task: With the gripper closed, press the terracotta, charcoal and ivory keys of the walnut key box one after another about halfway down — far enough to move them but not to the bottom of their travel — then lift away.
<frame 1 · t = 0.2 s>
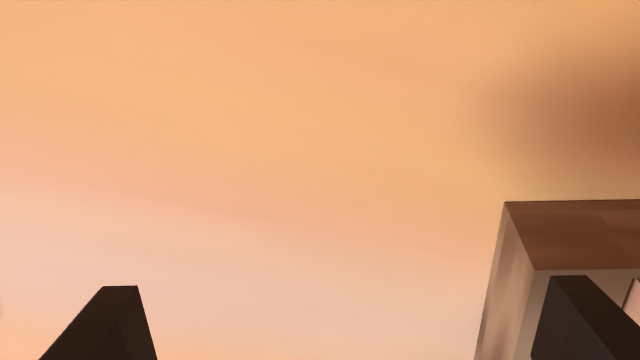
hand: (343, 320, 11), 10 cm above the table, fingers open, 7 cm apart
key box: (604, 339, 26), on the table
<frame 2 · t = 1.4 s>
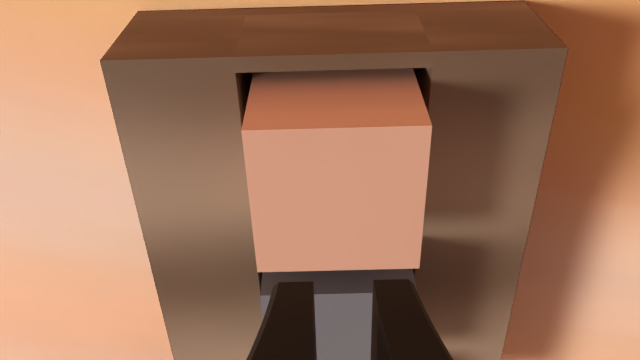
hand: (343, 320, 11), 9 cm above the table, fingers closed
key box: (333, 215, 21), on the table
charcoal key: (337, 303, 18), point 4 cm above the table, slide at 0.0 cm
terracotta key: (335, 167, 15), point 4 cm above the table, slide at 0.0 cm
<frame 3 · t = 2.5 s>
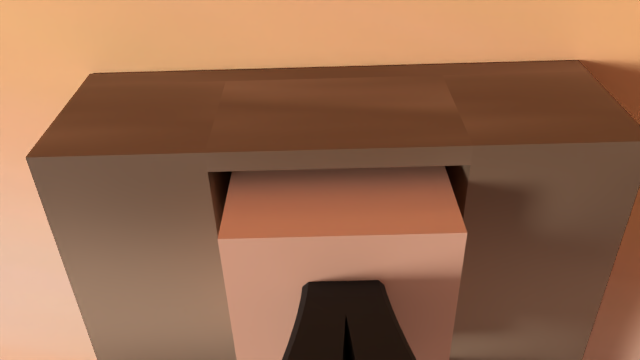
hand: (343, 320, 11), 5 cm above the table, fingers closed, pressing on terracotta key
key box: (336, 304, 18), on the table
terracotta key: (339, 262, 12), point 4 cm above the table, slide at 0.8 cm, touching gripper
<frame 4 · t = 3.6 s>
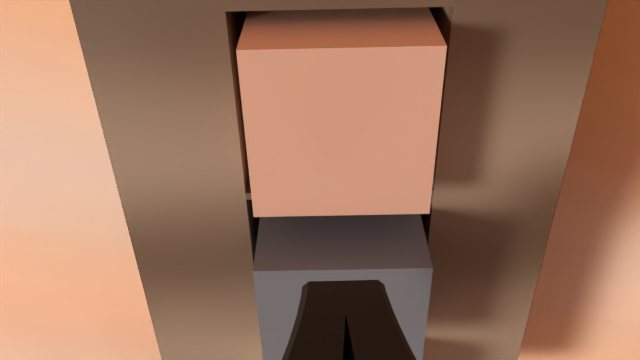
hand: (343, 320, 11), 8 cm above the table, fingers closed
key box: (336, 190, 19), on the table
charcoal key: (340, 284, 16), point 4 cm above the table, slide at 0.0 cm
terracotta key: (339, 104, 14), point 3 cm above the table, slide at 0.9 cm
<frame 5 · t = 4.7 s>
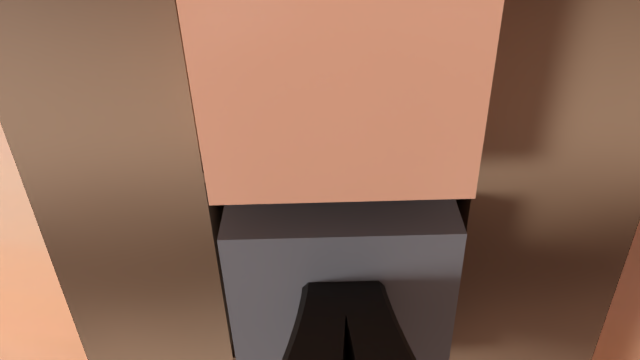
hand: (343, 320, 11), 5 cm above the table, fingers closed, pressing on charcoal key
key box: (334, 175, 15), on the table
charcoal key: (339, 263, 12), point 3 cm above the table, slide at 1.1 cm, touching gripper
terracotta key: (337, 35, 9), point 3 cm above the table, slide at 0.9 cm
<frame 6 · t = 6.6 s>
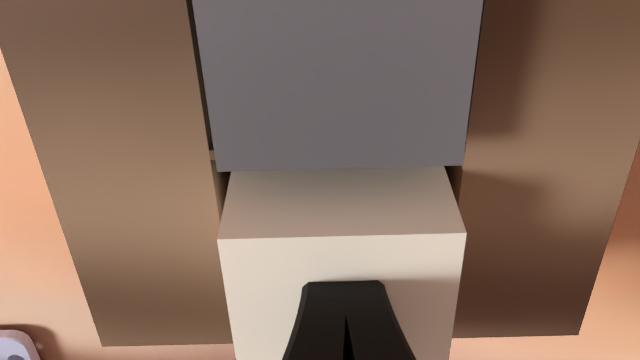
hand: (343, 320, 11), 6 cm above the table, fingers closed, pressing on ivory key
charcoal key: (335, 15, 10), point 3 cm above the table, slide at 1.1 cm
ivory key: (339, 262, 12), point 4 cm above the table, slide at 0.4 cm, touching gripper
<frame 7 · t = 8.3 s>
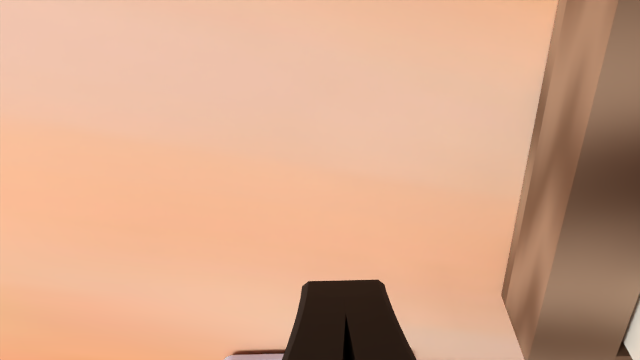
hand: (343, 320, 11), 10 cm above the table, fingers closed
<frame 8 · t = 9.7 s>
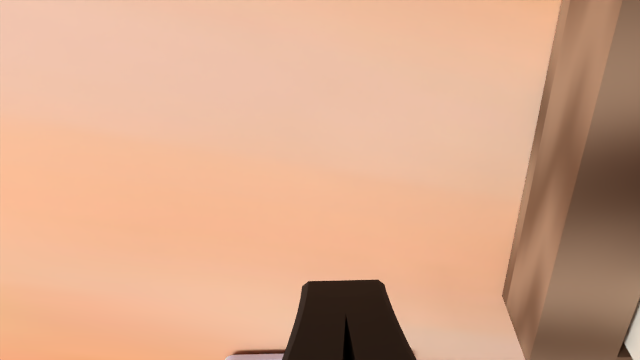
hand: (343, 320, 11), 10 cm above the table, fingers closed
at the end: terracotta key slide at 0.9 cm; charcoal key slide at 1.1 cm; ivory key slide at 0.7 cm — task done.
